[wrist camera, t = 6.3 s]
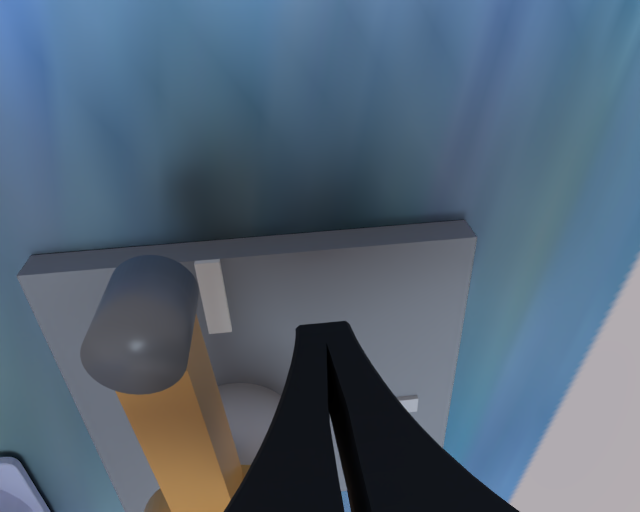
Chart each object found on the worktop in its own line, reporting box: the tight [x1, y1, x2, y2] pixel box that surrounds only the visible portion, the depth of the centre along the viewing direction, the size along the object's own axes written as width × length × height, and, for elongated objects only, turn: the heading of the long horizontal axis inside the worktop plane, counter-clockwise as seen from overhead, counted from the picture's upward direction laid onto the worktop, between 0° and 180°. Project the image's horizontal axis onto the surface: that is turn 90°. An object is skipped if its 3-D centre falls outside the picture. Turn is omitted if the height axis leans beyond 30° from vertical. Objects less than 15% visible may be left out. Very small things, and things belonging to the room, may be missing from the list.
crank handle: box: [80, 255, 251, 512], centre depth 14 cm, size 14×6×3 cm, turn 5°
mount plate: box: [17, 220, 477, 512], centre depth 19 cm, size 15×14×5 cm
